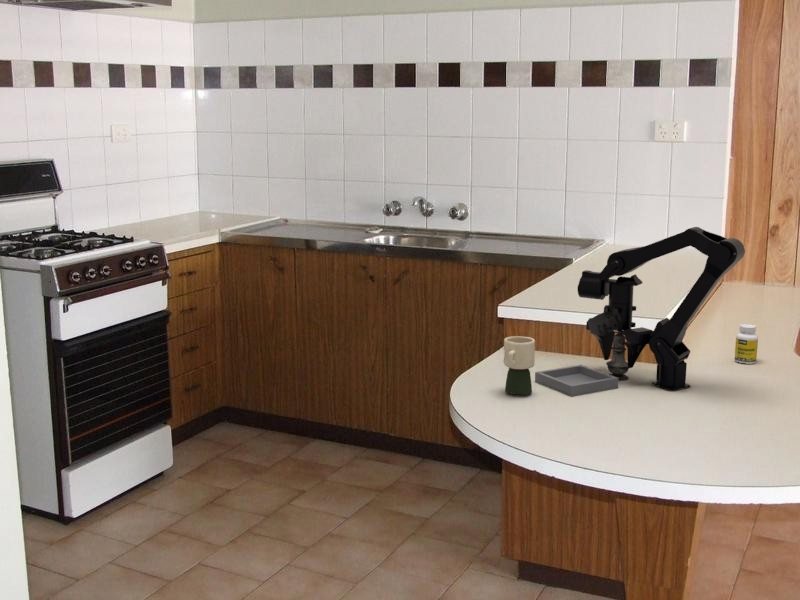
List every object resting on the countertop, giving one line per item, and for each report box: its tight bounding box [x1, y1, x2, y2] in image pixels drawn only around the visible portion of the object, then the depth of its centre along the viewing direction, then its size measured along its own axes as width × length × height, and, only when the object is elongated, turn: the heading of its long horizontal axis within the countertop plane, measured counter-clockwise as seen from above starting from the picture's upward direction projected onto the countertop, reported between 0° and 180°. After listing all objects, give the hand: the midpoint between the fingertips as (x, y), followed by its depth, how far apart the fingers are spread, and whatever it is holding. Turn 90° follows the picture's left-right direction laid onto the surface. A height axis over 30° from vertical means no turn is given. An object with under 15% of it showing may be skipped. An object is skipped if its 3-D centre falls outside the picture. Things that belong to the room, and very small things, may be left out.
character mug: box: [503, 335, 536, 396], centre depth 216 cm, size 11×7×13 cm, turn 149°
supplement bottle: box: [734, 323, 759, 365], centre depth 243 cm, size 5×5×10 cm
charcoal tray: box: [534, 364, 619, 398], centre depth 224 cm, size 14×14×2 cm
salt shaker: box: [605, 333, 630, 382], centre depth 229 cm, size 6×6×12 cm
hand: (618, 363), depth 229 cm, fingers closed on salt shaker, 8 cm apart
